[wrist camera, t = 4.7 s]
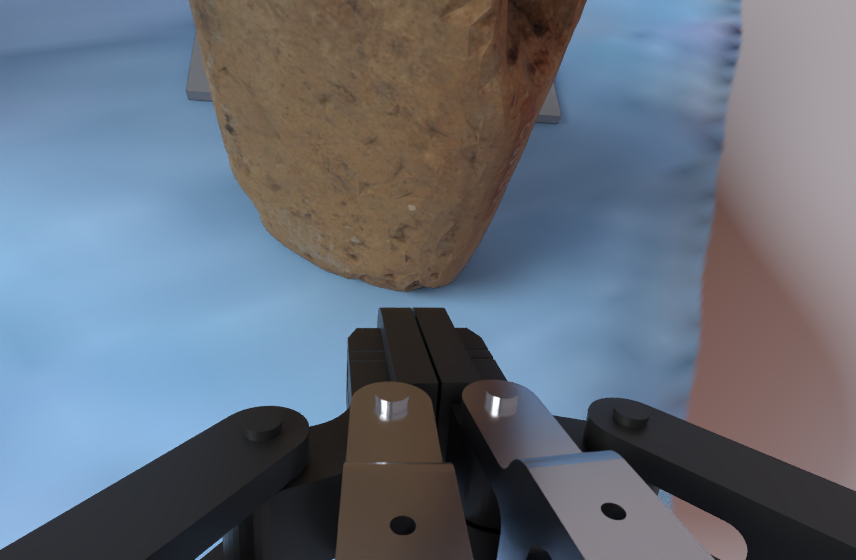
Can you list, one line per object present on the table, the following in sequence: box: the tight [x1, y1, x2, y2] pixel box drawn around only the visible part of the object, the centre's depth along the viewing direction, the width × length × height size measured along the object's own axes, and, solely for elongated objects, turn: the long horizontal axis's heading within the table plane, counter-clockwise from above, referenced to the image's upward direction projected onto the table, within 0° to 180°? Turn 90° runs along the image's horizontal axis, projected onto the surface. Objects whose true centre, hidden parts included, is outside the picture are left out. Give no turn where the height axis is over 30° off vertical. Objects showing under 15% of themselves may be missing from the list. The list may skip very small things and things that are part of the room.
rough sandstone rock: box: [189, 0, 587, 292], centre depth 18 cm, size 11×8×20 cm
